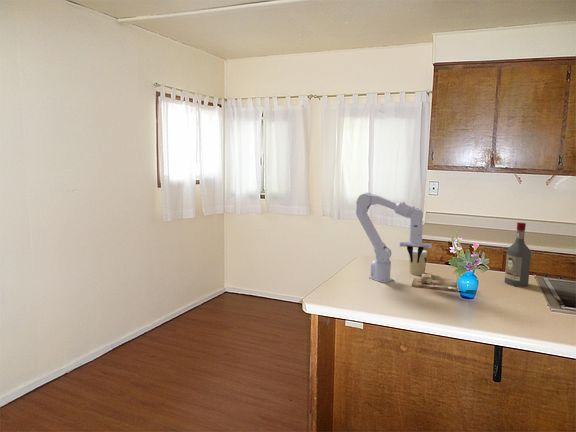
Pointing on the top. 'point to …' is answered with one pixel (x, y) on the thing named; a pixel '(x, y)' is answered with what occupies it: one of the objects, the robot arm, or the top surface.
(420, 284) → the gauge base
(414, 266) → the coffee cup
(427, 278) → the gauge slider
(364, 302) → the top surface
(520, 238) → the liquor
